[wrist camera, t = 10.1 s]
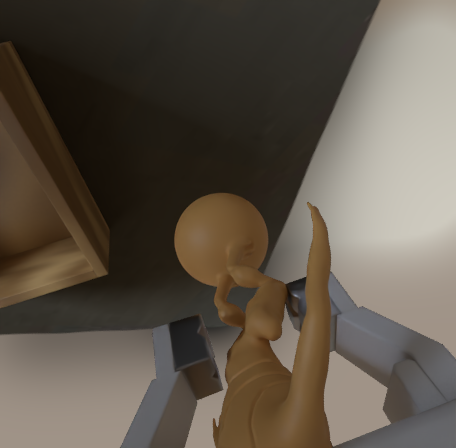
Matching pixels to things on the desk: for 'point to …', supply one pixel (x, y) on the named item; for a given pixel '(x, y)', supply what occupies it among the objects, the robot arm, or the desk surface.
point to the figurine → (261, 326)
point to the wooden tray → (41, 198)
